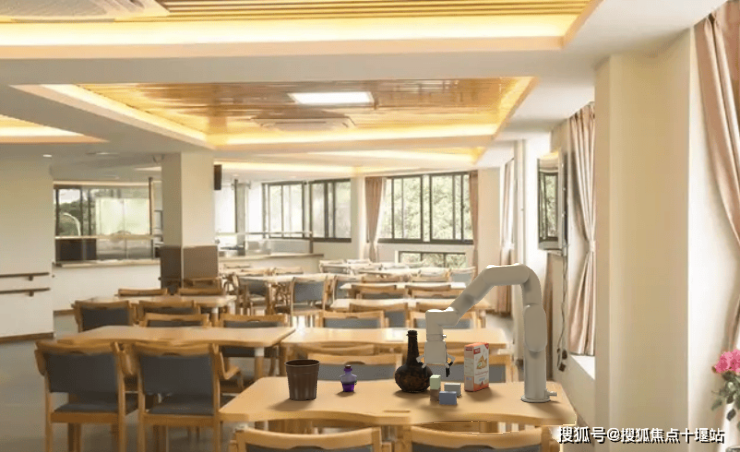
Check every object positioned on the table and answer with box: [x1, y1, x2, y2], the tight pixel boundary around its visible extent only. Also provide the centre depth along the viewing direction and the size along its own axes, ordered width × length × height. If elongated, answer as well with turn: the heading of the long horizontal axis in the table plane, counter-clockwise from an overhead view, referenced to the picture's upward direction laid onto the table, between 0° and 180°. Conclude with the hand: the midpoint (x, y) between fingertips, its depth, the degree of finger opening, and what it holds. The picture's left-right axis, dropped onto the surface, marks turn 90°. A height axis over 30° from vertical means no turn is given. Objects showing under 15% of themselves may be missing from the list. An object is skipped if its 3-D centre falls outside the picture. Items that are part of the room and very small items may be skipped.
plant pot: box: [283, 358, 321, 401], centre depth 376 cm, size 16×16×16 cm
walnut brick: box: [429, 386, 442, 402], centre depth 368 cm, size 4×7×5 cm, turn 164°
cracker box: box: [463, 341, 490, 392], centre depth 389 cm, size 14×6×21 cm, turn 143°
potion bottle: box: [339, 364, 358, 393], centre depth 389 cm, size 9×9×12 cm
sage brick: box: [429, 374, 442, 390], centre depth 368 cm, size 4×7×5 cm, turn 165°
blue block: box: [438, 390, 458, 406], centre depth 359 cm, size 7×4×5 cm, turn 75°
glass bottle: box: [394, 329, 434, 393], centre depth 387 cm, size 18×18×28 cm
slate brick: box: [443, 382, 462, 397], centre depth 376 cm, size 7×4×5 cm, turn 75°
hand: (436, 376), depth 368 cm, fingers open, 9 cm apart
